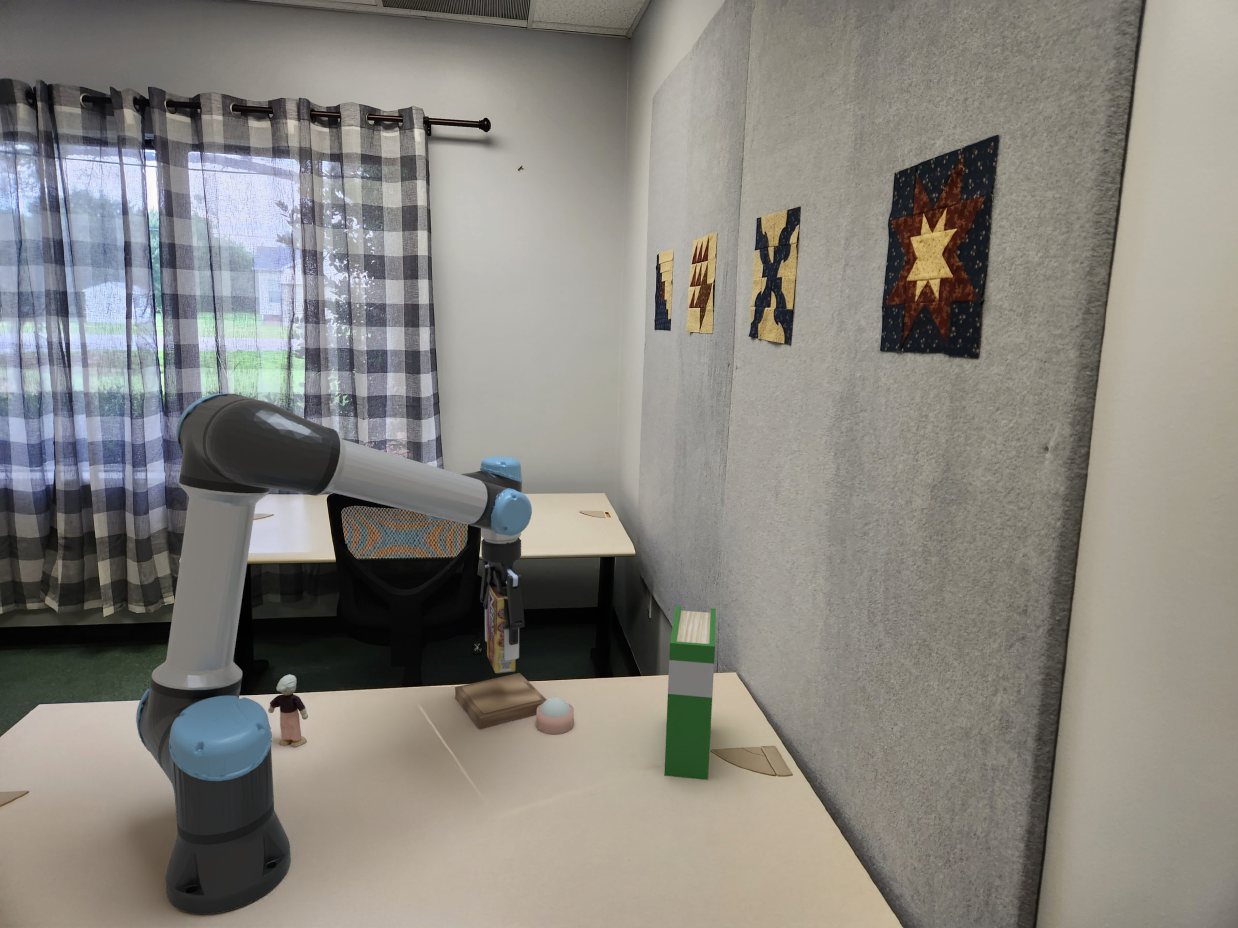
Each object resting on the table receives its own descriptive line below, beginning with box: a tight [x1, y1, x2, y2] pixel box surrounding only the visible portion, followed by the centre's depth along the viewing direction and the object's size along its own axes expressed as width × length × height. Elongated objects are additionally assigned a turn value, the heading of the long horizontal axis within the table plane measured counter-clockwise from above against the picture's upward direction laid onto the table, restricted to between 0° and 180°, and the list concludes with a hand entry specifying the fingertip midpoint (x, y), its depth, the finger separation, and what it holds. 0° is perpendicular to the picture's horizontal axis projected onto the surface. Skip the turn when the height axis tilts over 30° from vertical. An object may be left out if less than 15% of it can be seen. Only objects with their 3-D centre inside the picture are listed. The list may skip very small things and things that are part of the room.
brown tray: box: [454, 672, 548, 730], centre depth 152 cm, size 14×14×3 cm
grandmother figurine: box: [267, 674, 309, 748], centre depth 137 cm, size 8×4×13 cm, turn 89°
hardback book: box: [664, 605, 717, 781], centre depth 137 cm, size 18×7×24 cm, turn 173°
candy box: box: [486, 586, 517, 674], centre depth 149 cm, size 9×4×15 cm, turn 20°
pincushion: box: [535, 696, 575, 735], centre depth 144 cm, size 7×7×6 cm
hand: (501, 648), depth 150 cm, fingers closed on candy box, 9 cm apart
